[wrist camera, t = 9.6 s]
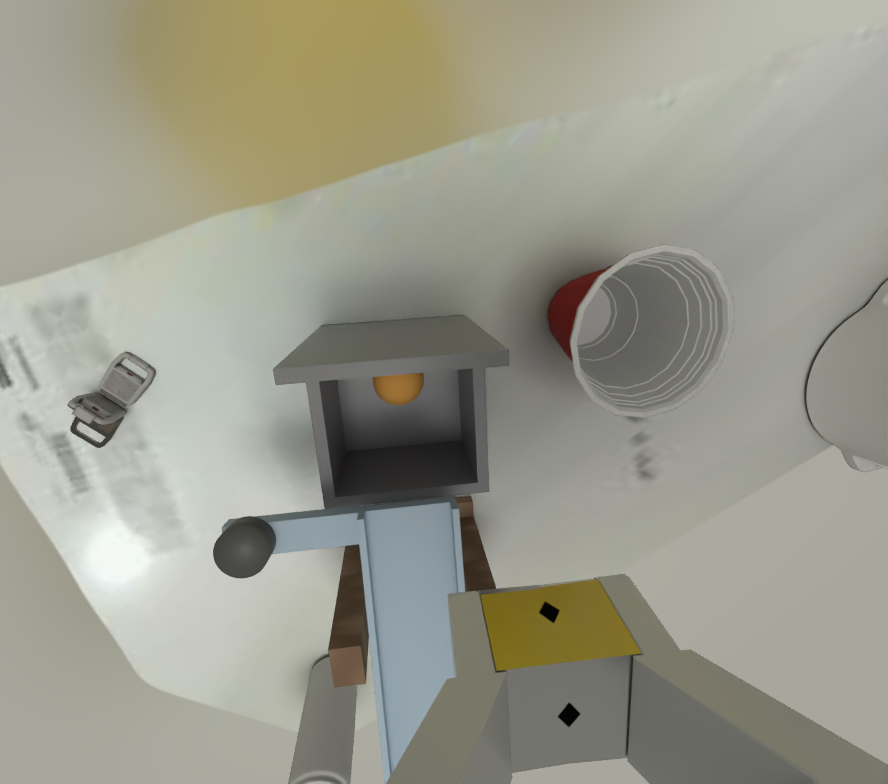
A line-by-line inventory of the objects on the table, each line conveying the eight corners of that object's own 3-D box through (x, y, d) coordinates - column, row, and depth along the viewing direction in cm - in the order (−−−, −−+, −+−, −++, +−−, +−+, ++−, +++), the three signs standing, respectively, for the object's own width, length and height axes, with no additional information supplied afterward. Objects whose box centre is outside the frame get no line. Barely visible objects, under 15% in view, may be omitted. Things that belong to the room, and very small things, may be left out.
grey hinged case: (127, 347, 37) (94, 357, 33) (161, 370, 38) (133, 383, 34) (70, 427, 38) (32, 447, 34) (105, 448, 39) (72, 470, 35)
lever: (449, 474, 33) (459, 503, 27) (468, 735, 35) (482, 811, 30) (243, 495, 32) (209, 530, 26) (280, 763, 34) (256, 848, 29)
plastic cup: (578, 401, 42) (648, 453, 31) (493, 320, 39) (534, 345, 28) (666, 310, 41) (774, 329, 29) (585, 220, 38) (668, 202, 26)
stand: (470, 496, 43) (507, 606, 30) (473, 552, 45) (509, 681, 31) (347, 509, 42) (325, 630, 29) (354, 565, 44) (337, 706, 30)
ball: (426, 398, 35) (425, 406, 39) (421, 346, 35) (420, 359, 39) (372, 403, 34) (376, 410, 38) (368, 350, 35) (373, 363, 39)
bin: (463, 314, 39) (508, 350, 23) (469, 444, 42) (513, 549, 27) (321, 325, 38) (273, 368, 23) (339, 457, 41) (306, 573, 26)
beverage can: (348, 645, 46) (333, 771, 35) (366, 680, 48) (358, 812, 36) (302, 662, 46) (273, 794, 35) (322, 696, 48) (300, 834, 36)
